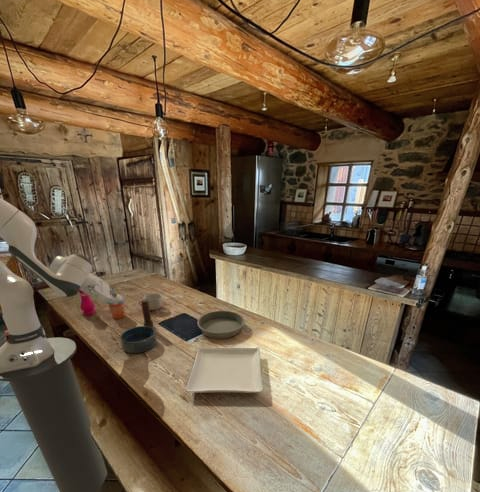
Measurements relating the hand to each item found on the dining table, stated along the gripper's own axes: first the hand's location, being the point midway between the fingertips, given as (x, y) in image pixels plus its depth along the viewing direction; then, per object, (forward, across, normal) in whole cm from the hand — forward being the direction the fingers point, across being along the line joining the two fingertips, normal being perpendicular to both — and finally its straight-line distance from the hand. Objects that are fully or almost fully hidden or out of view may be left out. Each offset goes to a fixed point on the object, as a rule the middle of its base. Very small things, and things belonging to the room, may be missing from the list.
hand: (116, 299), depth 128 cm
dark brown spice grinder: (+22, 0, +5) cm, 23 cm away
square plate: (+38, -52, -11) cm, 66 cm away
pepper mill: (+1, +35, +26) cm, 43 cm away
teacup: (+26, +25, +1) cm, 36 cm away
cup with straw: (+12, +22, +15) cm, 30 cm away
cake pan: (+46, -17, -20) cm, 53 cm away
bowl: (+18, -15, +9) cm, 25 cm away
